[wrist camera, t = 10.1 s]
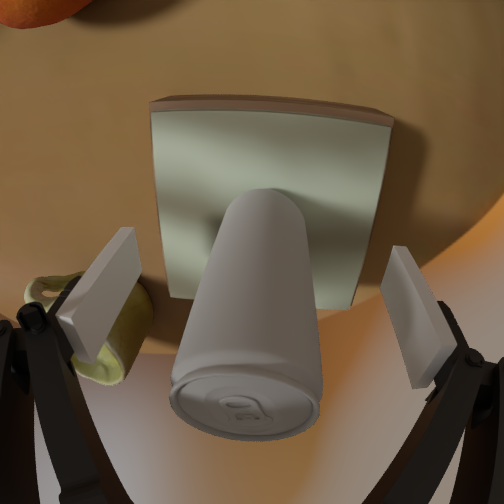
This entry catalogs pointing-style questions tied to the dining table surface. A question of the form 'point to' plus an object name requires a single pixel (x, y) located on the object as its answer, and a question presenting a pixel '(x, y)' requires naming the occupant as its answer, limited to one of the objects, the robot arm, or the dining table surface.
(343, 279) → the podium
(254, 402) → the beverage can
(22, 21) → the fruit
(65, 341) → the robot arm
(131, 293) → the mug
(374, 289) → the dining table surface
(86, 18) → the dining table surface
